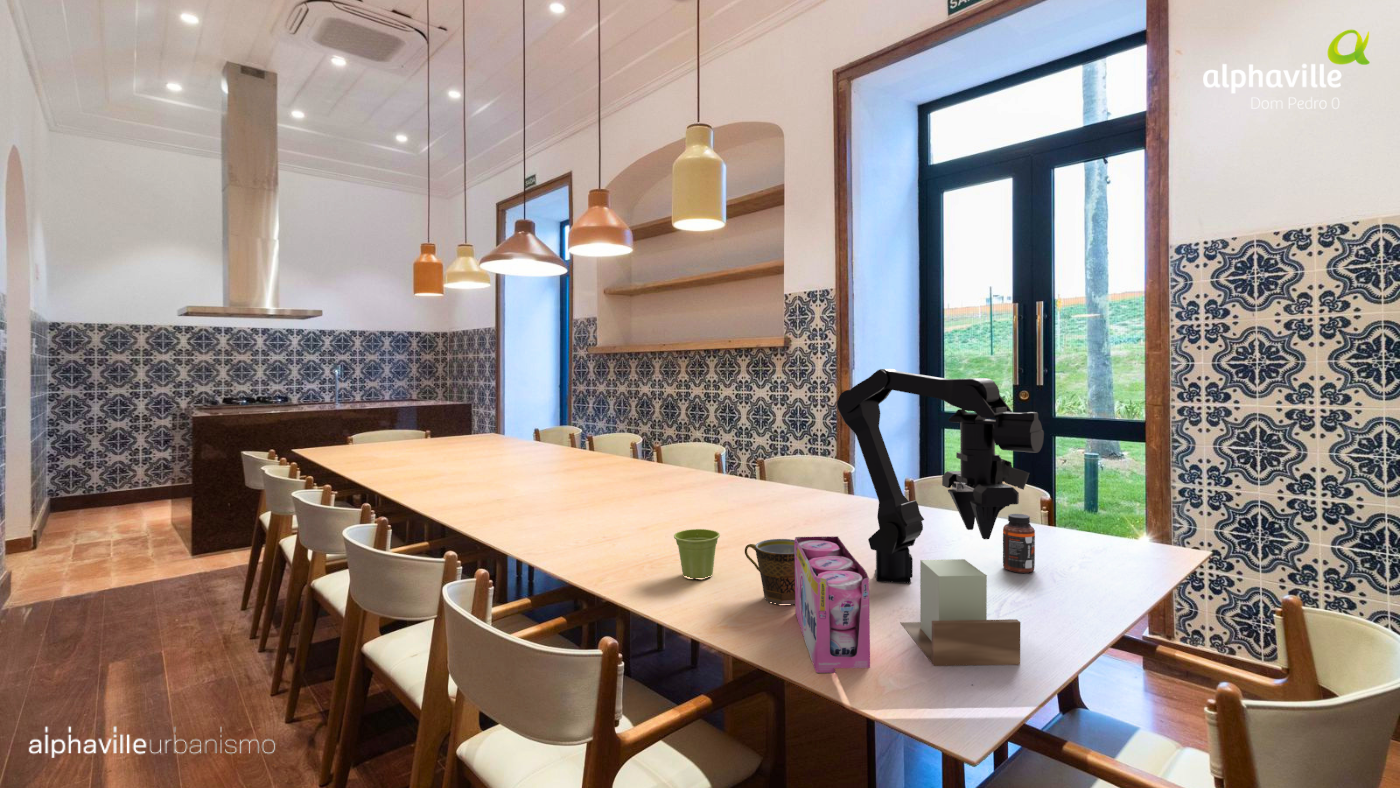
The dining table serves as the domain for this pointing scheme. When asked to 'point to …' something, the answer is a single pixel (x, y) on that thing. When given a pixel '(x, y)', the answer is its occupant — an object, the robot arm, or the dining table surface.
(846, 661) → the gum box
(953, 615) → the sage block
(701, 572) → the plant pot
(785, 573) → the ceramic cup
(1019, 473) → the robot arm
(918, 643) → the brown box
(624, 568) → the dining table surface
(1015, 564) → the supplement bottle
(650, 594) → the dining table surface
